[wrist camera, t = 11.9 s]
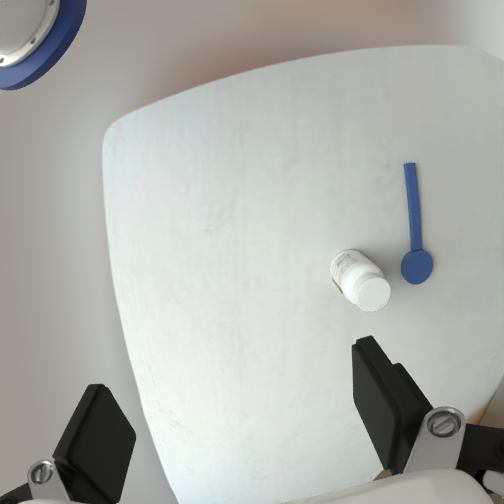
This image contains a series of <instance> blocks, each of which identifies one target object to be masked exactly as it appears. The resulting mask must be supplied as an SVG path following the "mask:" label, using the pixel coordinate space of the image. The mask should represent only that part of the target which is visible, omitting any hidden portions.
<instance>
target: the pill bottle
mask: <svg viewBox="0 0 504 504" xmlns="http://www.w3.org/2000/svg"><path fill="white" fill-rule="evenodd" d="M330 275H331V278H332V280H333V282H334V283H335V284H336V286H337V287H338V288H339V290H340V291H341V292H342V294H343V295H344V296H345V298H346V299H347V300H348V301H349V302H350V303H352V304H354V305H358V306H359V307H360V308H361V309H362V310H363V311H365V312H376V311H379V310H381V309H382V308H383V307H384V306H385V305H386V304H387V303H388V301H389V299H390V296H391V287H390V285H389V283H388V282H387V280H386V279H384V275H383V273H382V271H381V270H380V268H379V267H378V266H377V265H375V264H374V263H373V262H372V261H370V260H369V259H368V258H367V257H365V256H364V255H363V254H361V253H360V252H358V251H356V250H345V251H343V252H341V253H339V254H338V255H337V256H336V257H335V258H334V259H333V261H332V263H331V266H330Z"/></svg>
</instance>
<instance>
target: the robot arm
mask: <svg viewBox="0 0 504 504" xmlns="http://www.w3.org/2000/svg"><path fill="white" fill-rule="evenodd" d="M59 6H60V0H0V67H10V66H13V65H15V64H18V63H19V62H21V61H22V60H24V59H25V58H27V57H28V56H29V55H30V54H31V53H32V52H33V51H34V50H35V49H36V48H37V47H38V46H39V45H40V44H41V43H42V41H43V40H44V39H45V37H46V36H47V34H48V33H49V32H50V30H51V28H52V26H53V24H54V22H55V20H56V17H57V15H58V11H59ZM352 366H353V398H354V402H355V405H356V408H357V410H358V412H359V414H360V416H361V419H362V421H363V423H364V425H365V427H366V430H367V432H368V434H369V436H370V439H371V441H372V443H373V445H374V448H375V450H376V452H377V454H378V457H379V459H380V461H381V463H382V466H383V468H384V469H385V470H388V469H390V471H391V473H392V476H391V477H387V478H384V479H380V480H377V481H373V482H369V483H366V484H362V485H359V486H355V487H352V488H348V489H344V490H341V491H337V492H333V493H328V494H324V495H320V496H315V497H311V498H306V499H301V500H296V501H290V502H285V503H279V504H494V503H493V502H492V500H491V498H490V497H489V496H488V494H492V493H497V494H500V495H502V496H503V497H502V499H504V429H501V428H493V427H486V426H480V425H473V424H467V423H466V419H465V417H464V415H463V414H462V413H461V412H460V411H459V410H457V409H456V408H453V407H438V408H435V409H434V408H433V407H432V405H431V404H430V403H429V401H428V400H427V398H426V397H425V396H424V394H423V393H422V391H421V390H420V389H419V387H418V386H417V384H416V383H415V382H414V380H413V379H412V377H411V376H410V375H409V373H408V372H407V371H406V369H405V368H404V367H403V365H402V364H401V363H396V364H392V363H391V361H390V360H389V359H388V357H387V356H386V354H385V353H384V352H383V350H382V349H381V347H380V346H379V345H378V343H377V342H376V340H375V339H374V338H373V336H367V337H364V338H360V339H357V340H356V344H354V345H352ZM135 441H136V434H135V431H134V430H133V428H132V426H131V425H130V423H129V421H128V420H127V418H126V417H125V415H124V414H123V412H122V410H121V409H120V407H119V405H118V403H117V402H116V400H115V398H114V397H113V395H112V393H111V391H110V390H109V388H108V387H105V385H103V384H91V385H88V387H87V389H86V390H85V393H84V394H83V396H82V398H81V400H80V402H79V404H78V406H77V407H76V410H75V412H74V413H73V415H72V417H71V419H70V421H69V423H68V425H67V427H66V429H65V431H64V433H63V435H62V437H61V439H60V441H59V443H58V445H57V447H56V449H55V451H54V454H53V458H54V459H55V461H54V463H53V462H52V461H50V460H41V461H38V462H36V463H35V464H33V465H32V466H31V467H30V469H29V471H28V475H27V477H28V483H26V484H24V485H22V486H20V487H18V488H16V489H14V490H12V491H10V492H8V493H6V494H4V495H3V496H1V497H0V504H116V503H118V502H119V501H120V497H121V494H122V490H123V486H124V482H125V478H126V474H127V470H128V467H129V463H130V459H131V455H132V452H133V448H134V444H135ZM398 473H400V474H399V475H396V474H398ZM393 475H396V476H393Z"/></svg>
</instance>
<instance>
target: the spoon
mask: <svg viewBox="0 0 504 504" xmlns="http://www.w3.org/2000/svg"><path fill="white" fill-rule="evenodd" d="M404 169H405V177H406V186H407V196H408V206H409V219H410V235H411V251H410V252H409V253H408V254H407V255H406V256H405V257H404V259H403V261H402V265H401V272H402V276H403V277H404V279H405V280H407V281H408V282H409V283H411V284H420V283H422V282H424V281H425V280H426V279H427V278H428V277H429V275H430V274H431V271H432V268H433V261H432V257H431V256H430V254H429V253H428V252H426V251H424V250H422V249H421V226H420V211H419V198H418V188H417V178H416V170H415V163H406V164H404Z"/></svg>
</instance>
